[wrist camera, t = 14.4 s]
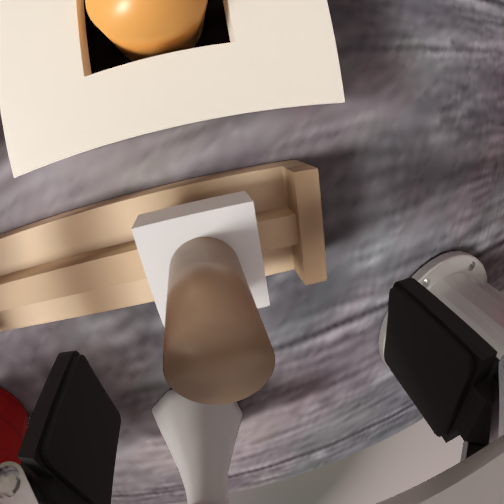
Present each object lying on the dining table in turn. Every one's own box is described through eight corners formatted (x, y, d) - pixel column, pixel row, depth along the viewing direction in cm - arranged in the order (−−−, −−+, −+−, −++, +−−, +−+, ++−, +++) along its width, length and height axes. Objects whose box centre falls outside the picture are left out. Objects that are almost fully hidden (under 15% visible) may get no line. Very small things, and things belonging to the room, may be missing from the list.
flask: (135, 405, 23) (130, 513, 14) (204, 367, 22) (221, 487, 13) (192, 442, 26) (203, 535, 17) (256, 411, 25) (285, 510, 16)
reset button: (196, -16, 11) (202, -69, 6) (208, 56, 12) (219, 24, 8) (112, 2, 10) (83, -41, 6) (121, 75, 12) (90, 54, 7)
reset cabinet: (258, -44, 12) (294, -107, 6) (287, 107, 16) (344, 102, 10) (53, 0, 11) (-1, -43, 5) (74, 154, 15) (14, 178, 9)
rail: (294, 159, 18) (317, 168, 14) (305, 254, 20) (326, 280, 17) (-45, 252, 15) (-71, 273, 12) (-13, 323, 18) (-32, 351, 14)
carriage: (240, 184, 16) (304, 264, 7) (255, 273, 18) (313, 401, 9) (142, 206, 15) (94, 311, 7) (167, 292, 17) (162, 434, 9)
